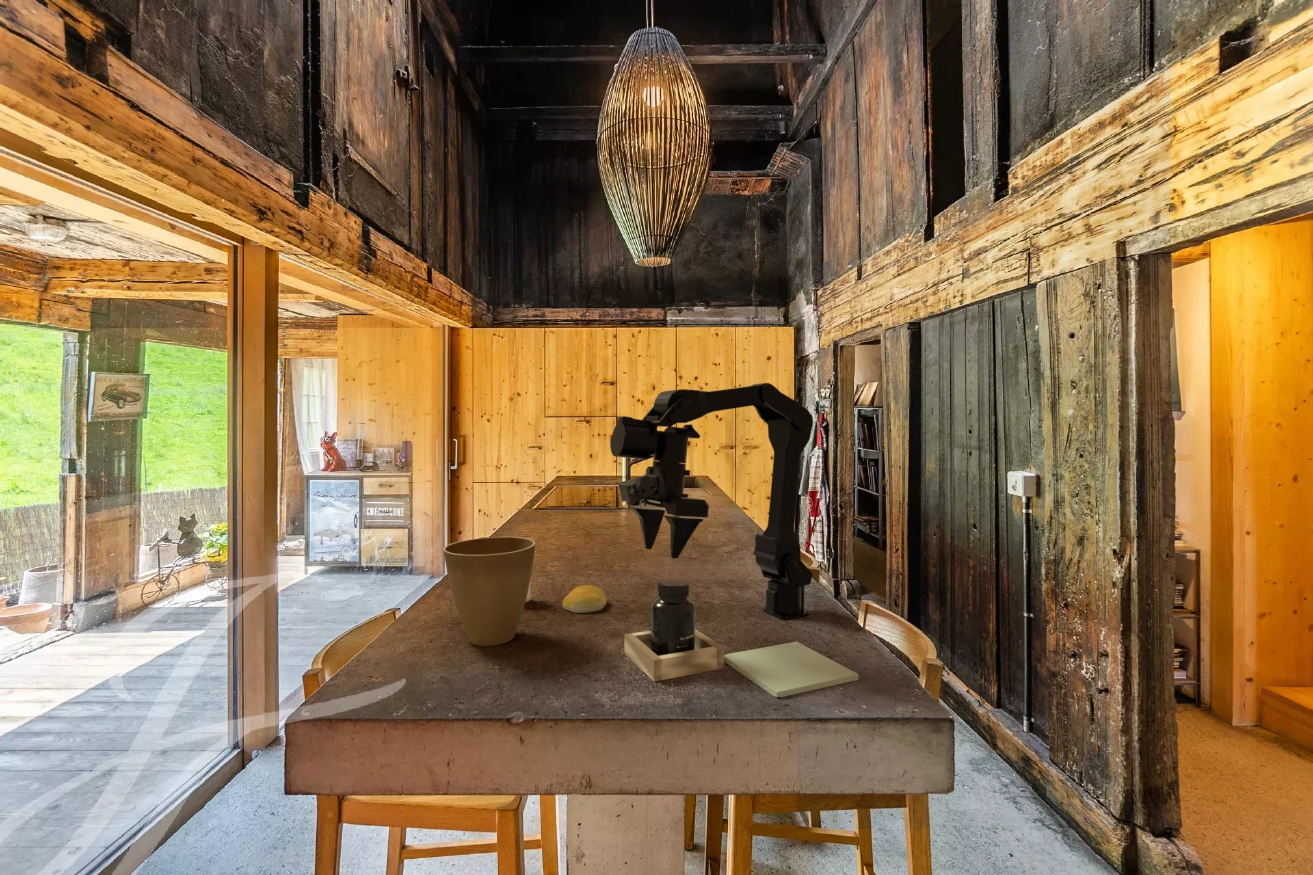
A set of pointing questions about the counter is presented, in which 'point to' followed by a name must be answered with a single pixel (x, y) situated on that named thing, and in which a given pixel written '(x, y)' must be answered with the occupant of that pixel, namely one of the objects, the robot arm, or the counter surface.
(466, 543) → the plant pot
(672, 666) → the birch collar
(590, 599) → the bread roll
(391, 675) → the counter surface
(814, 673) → the sage board
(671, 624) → the supplement bottle
